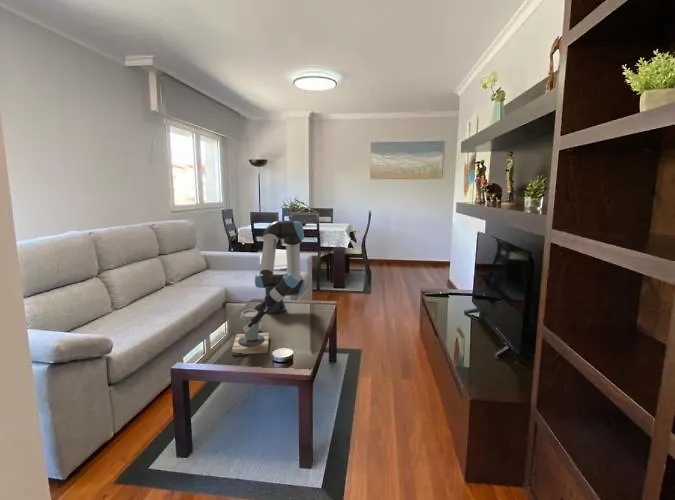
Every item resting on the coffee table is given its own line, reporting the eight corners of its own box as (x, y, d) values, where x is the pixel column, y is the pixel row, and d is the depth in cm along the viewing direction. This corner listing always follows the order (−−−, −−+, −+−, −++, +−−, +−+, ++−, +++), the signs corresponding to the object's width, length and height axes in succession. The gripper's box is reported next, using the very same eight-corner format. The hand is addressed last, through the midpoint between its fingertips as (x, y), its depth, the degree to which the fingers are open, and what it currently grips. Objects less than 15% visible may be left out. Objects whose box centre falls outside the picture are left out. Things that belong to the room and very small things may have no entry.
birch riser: (236, 339, 203) (236, 333, 203) (269, 337, 206) (268, 332, 205) (232, 354, 186) (232, 348, 185) (267, 352, 188) (267, 346, 188)
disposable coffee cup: (264, 335, 199) (264, 309, 196) (255, 343, 189) (254, 316, 185) (247, 332, 201) (246, 307, 198) (237, 341, 191) (236, 314, 188)
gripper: (279, 309, 182) (248, 339, 183) (279, 295, 204) (252, 322, 205) (268, 300, 180) (237, 330, 181) (269, 286, 203) (242, 313, 203)
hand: (245, 326), depth 193 cm, fingers closed on disposable coffee cup, 11 cm apart
